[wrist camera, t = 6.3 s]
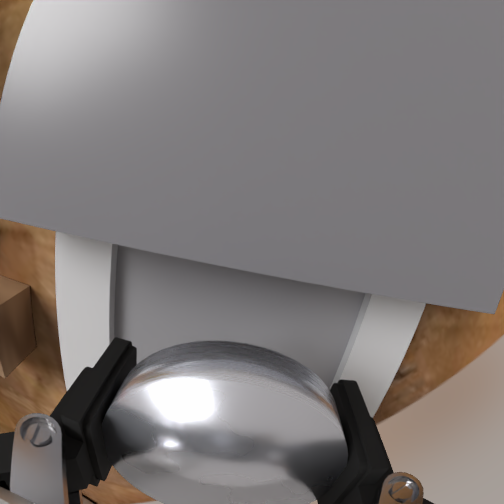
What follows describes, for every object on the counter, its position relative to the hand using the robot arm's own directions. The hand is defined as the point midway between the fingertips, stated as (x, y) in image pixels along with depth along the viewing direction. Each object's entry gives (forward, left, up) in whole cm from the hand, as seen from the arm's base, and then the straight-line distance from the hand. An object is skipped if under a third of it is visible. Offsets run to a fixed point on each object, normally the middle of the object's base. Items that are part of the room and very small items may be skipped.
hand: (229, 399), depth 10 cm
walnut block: (-2, +13, -5) cm, 14 cm away
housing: (+13, 0, -5) cm, 14 cm away
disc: (0, 0, +1) cm, 1 cm away
